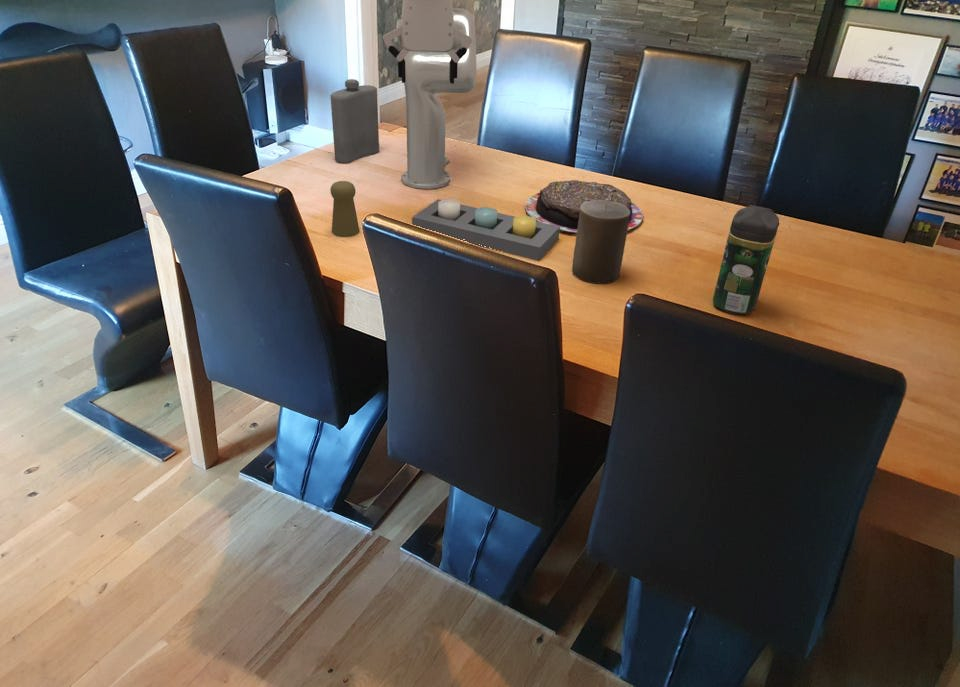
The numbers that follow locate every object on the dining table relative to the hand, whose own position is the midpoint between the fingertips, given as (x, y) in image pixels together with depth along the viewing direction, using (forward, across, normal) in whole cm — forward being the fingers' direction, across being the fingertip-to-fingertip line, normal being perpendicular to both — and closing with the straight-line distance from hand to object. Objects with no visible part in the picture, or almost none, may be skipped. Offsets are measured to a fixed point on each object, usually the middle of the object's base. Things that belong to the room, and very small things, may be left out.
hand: (427, 81), depth 143 cm
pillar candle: (+32, -33, +23) cm, 51 cm away
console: (+31, -12, +5) cm, 34 cm away
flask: (+30, +17, -47) cm, 58 cm away
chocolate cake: (+31, -37, -7) cm, 49 cm away
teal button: (+29, -12, +5) cm, 32 cm away
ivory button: (+29, -5, 0) cm, 29 cm away
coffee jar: (+32, -56, +37) cm, 74 cm away
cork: (+31, +18, +2) cm, 36 cm away
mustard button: (+29, -20, +10) cm, 37 cm away
